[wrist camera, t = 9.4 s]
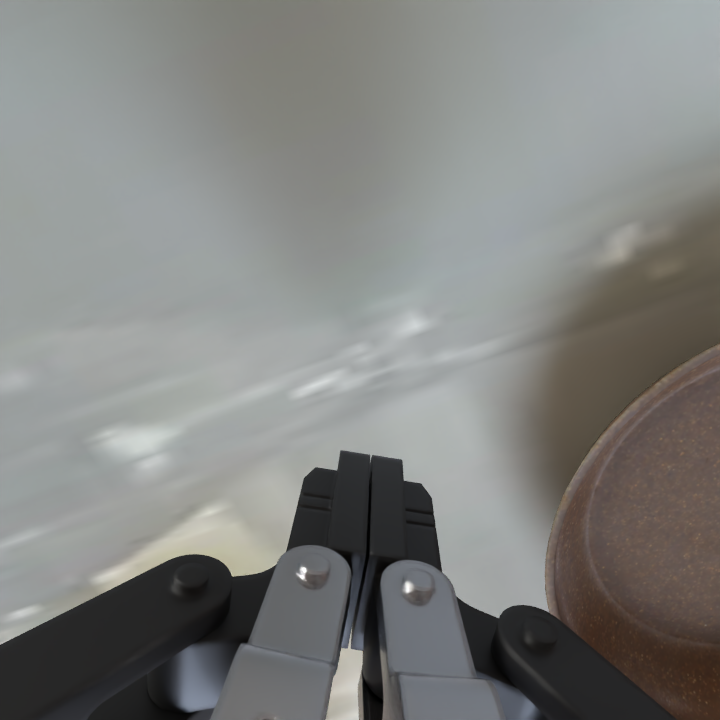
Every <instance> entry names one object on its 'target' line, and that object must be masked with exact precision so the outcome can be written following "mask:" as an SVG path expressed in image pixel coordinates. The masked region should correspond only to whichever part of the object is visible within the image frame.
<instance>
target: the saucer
mask: <svg viewBox="0 0 720 720" xmlns="http://www.w3.org/2000/svg"><path fill="white" fill-rule="evenodd" d="M545 590H546V596H547V603H548V609H549V612H550V614H552V615H554V616H555V617H557V618H558V619H559V620H561V621H562V622H563V623H564V624H565V625H567V626H568V627H569V628H570V629H571V630H572V631H574V632H575V633H576V634H577V635H578V636H580V637H581V638H582V639H583V640H584V641H585V642H587V643H588V644H589V645H590V646H591V647H592V648H594V649H595V650H596V651H597V652H598V653H600V654H601V655H602V656H603V657H604V658H605V659H607V660H608V661H609V662H610V663H611V664H612V665H614V666H615V667H616V668H617V669H618V670H620V671H621V672H622V673H623V674H624V675H625V676H627V677H628V678H629V679H630V680H631V681H632V682H634V683H635V684H636V685H637V686H638V687H640V688H641V689H642V690H643V691H644V692H645V693H647V694H648V695H649V696H650V697H651V698H652V699H654V700H655V701H656V702H657V703H658V704H660V705H661V706H662V707H663V708H664V709H665V710H667V711H668V712H669V713H670V714H671V715H672V716H674V717H675V718H676V719H677V720H720V343H718V344H716V345H714V346H712V347H710V348H709V349H707V350H705V351H703V352H701V353H699V354H697V355H695V356H694V357H692V358H691V359H689V360H687V361H686V362H684V363H682V364H681V365H679V366H678V367H676V368H675V369H673V370H672V371H670V372H669V373H667V374H666V375H665V376H663V377H662V378H660V379H659V380H658V381H656V382H655V383H653V384H652V385H651V386H650V387H648V388H647V389H646V390H645V391H643V392H642V393H641V394H640V395H639V396H638V397H637V398H635V399H634V400H633V401H632V402H631V403H630V404H629V405H628V406H627V407H626V408H625V409H624V410H623V411H622V412H621V413H620V414H619V415H618V416H617V417H616V418H615V419H614V420H613V421H612V422H611V423H610V424H609V425H608V427H607V428H606V430H604V432H603V433H602V434H601V435H600V436H599V438H598V439H597V441H596V442H595V443H594V445H593V446H592V448H591V449H590V450H589V452H588V453H587V455H586V456H585V458H584V459H583V461H582V463H581V465H580V466H579V468H578V470H577V471H576V473H575V474H574V476H573V478H572V480H571V482H570V484H569V486H568V488H567V489H566V491H565V493H564V496H563V498H562V500H561V502H560V505H559V507H558V510H557V513H556V515H555V518H554V522H553V526H552V530H551V534H550V537H549V541H548V547H547V554H546V565H545Z"/></svg>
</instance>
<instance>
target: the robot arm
mask: <svg viewBox="0 0 720 720" xmlns="http://www.w3.org/2000/svg"><path fill="white" fill-rule="evenodd" d="M433 513H434V512H433V504H432V498H431V496H430V495H429V494H428V492H427V491H426V490H425V488H424V487H423V486H422V484H420V483H414V482H407V481H404V479H403V464H402V460H400V459H394V458H388V457H381V456H375V455H372V458H371V462H370V455H368V454H361V453H355V452H349V451H342V450H341V451H340V457H339V463H338V469H337V471H336V470H329V469H323V468H317V467H316V468H315V469H313V470H312V471H311V472H310V473H309V474H308V475H307V476H306V477H305V478H304V481H303V485H302V489H301V493H300V497H299V501H298V506H297V510H296V514H295V518H294V522H293V526H292V530H291V534H290V539H289V543H288V547H287V551H286V553H284V554H283V555H282V556H281V557H280V559H279V561H278V562H277V564H276V565H275V566H274V567H272V568H270V569H269V570H266V571H264V572H261V573H258V574H253V575H246V576H236V577H232V576H231V573H230V571H229V569H228V568H227V567H226V566H225V564H223V563H222V562H221V561H219V560H217V559H215V558H213V557H210V556H205V555H197V554H193V555H184V556H179V557H176V558H173V559H171V560H168V561H166V562H164V563H162V564H160V565H158V566H156V567H154V568H152V569H150V570H148V571H147V572H145V573H143V574H141V575H139V576H137V577H135V578H133V579H131V580H129V581H127V582H125V583H123V584H121V585H119V586H117V587H115V588H113V589H111V590H109V591H107V592H105V593H103V594H101V595H99V596H97V597H95V598H93V599H91V600H89V601H87V602H85V603H83V604H81V605H79V606H77V607H75V608H73V609H71V610H69V611H67V612H65V613H63V614H61V615H59V616H57V617H55V618H53V619H51V620H49V621H47V622H45V623H43V624H41V625H39V626H37V627H35V628H33V629H31V630H29V631H27V632H25V633H23V634H21V635H19V636H17V637H15V638H13V639H11V640H9V641H7V642H5V643H3V644H1V645H0V720H326V714H327V709H328V703H329V698H330V692H331V687H332V681H333V676H334V675H335V673H336V671H337V667H338V662H339V656H340V651H341V648H348V643H349V638H350V633H351V628H352V638H351V649H355V650H362V651H363V665H362V670H361V675H360V679H359V684H358V706H359V720H677V719H676V718H675V717H674V716H672V715H671V714H670V713H669V712H668V711H667V710H665V709H664V708H663V707H662V706H661V705H660V704H658V703H657V702H656V701H655V700H654V699H652V698H651V697H650V696H649V695H648V694H647V693H645V692H644V691H643V690H642V689H641V688H640V687H638V686H637V685H636V684H635V683H634V682H632V681H631V680H630V679H629V678H628V677H627V676H625V675H624V674H623V673H622V672H621V671H620V670H618V669H617V668H616V667H615V666H614V665H612V664H611V663H610V662H609V661H608V660H607V659H605V658H604V657H603V656H602V655H601V654H600V653H598V652H597V651H596V650H595V649H594V648H592V647H591V646H590V645H589V644H588V643H587V642H585V641H584V640H583V639H582V638H581V637H580V636H578V635H577V634H576V633H575V632H574V631H572V630H571V629H570V628H569V627H568V626H567V625H565V624H564V623H563V622H562V621H561V620H559V619H558V618H557V617H555V616H554V615H552V614H550V613H548V612H546V611H544V610H542V609H539V608H536V607H532V606H526V605H517V606H512V607H510V608H507V609H506V610H505V611H503V613H502V614H501V615H500V618H496V617H494V616H491V615H489V614H487V613H484V612H482V611H479V610H477V609H475V608H473V607H471V606H469V605H467V604H466V603H464V602H463V601H461V600H460V599H459V598H458V597H457V596H456V594H455V591H454V588H453V585H452V583H451V582H450V580H449V579H448V578H447V576H446V575H444V574H443V573H442V568H441V561H440V554H439V547H438V540H437V533H436V528H435V519H434V515H433Z"/></svg>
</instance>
